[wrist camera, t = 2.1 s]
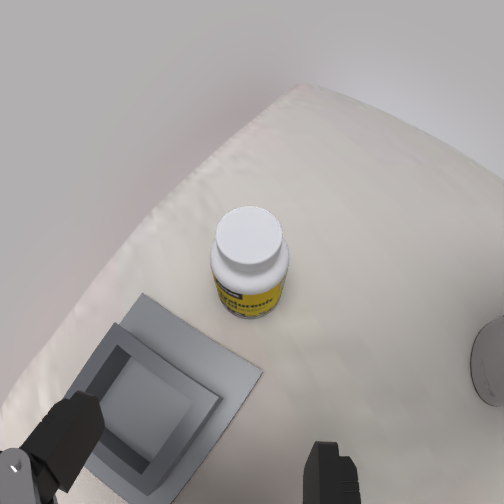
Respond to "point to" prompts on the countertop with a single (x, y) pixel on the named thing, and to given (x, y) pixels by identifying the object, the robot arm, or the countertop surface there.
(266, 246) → the supplement bottle
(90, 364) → the gray socket holder
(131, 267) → the countertop surface
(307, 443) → the countertop surface
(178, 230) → the countertop surface
